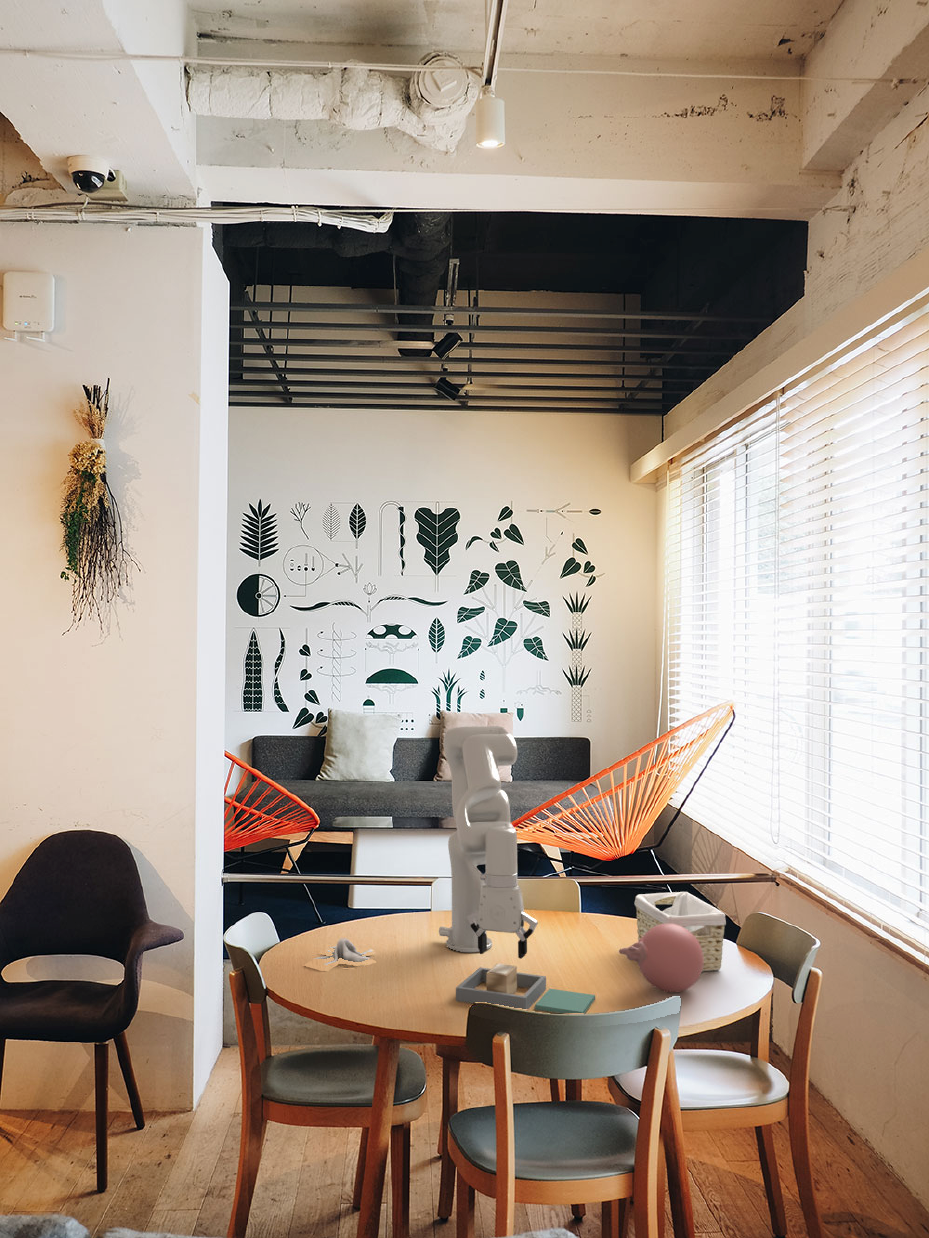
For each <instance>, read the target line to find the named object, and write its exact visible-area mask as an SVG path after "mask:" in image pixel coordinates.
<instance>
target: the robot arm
mask: <svg viewBox="0 0 929 1238" xmlns="http://www.w3.org/2000/svg"><path fill="white" fill-rule="evenodd" d="M442 743H443V751H444V752H443V753H444V755H445V759H446V761H447V765H448V766H449V770H450V773H451V774H450V775H451V802H452V804H451V805H452V806H451V807H452V815H453V818H454V821H455V823H456V824H455V827H456V831H454V832H452V833H451V835H450V836H449V837H448V843H447V845H448V854H449V861H450V873H451V926H450V927H446V926H439V928H438V934H439V936H441V937H447V940H446V941H445V944H446V945H447V946H448V947H449V948H450V949H449V948H448V947H447V946H446V945H445V946H446V947H447V948H448V949H449V950H451V949H453V950H452V951H454V950H456V951H455V952H458V951H460V953H478V952H479V954H480V955H483V954H484V953H486V952H487V951H488V950H490V949H491V948H492V946H493V941H492V940H491V938H489V937H488V936H487V931H489V932H498V933H506V934H507V933H508V934H516V935H517V937H518V938H519V940H518V941H517V957H518V959H519V960H521V959H523V958H524V957H525V956H526V955H527V953H528V939H529V937H531V935H532V934H534V933H535V930H536V928H537V926H538V923H539V922H538V921H537V920H536V919H535V918H533V917H531V916H530V915H529V914H527V913H526V912H525V909H524V900H523V894H522V890H521V885H518V834H517V830H516V828H515V827H514V825H513V824H512V822H511V821H512V820H511V807H510V800H509V797H508V794H507V793H506V792H505V790H503V789H502V781H501V776H500V770H499V767H503V766H512V765H514V764H515V763H516V762H517V759H518V746H517V742H516V739H515V738H514V736H513V735H512V733H510V731H508V730H507V729H506V728H505V727H502V726H494V725H492V726H488V725H487V726H458V727H453V728H450V729H447V730H446V732H445V733H444V735H443V742H442ZM479 865H485V872H484V873H482V872H481V871H480V870H479V868H478V867H477V866H479ZM525 923H527V925H528V924H529V927H528V929H527V930H526V929H525V928H524V926H525Z"/></svg>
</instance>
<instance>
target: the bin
mask: <svg viewBox="0 0 929 1238" xmlns="http://www.w3.org/2000/svg"><path fill="white" fill-rule="evenodd" d="M490 969H491V968H488V967H478V968H477V969H476V970H475V971H474V972H473V973H471V974H470V975H469V976H468V977H467V978H466V979H464V980H463V981H462V982H461V983H459V985H457V986H456V987H455V1001H456V1002H462V1003H466V1004H467V1003H468V1004H469V1003H470V1004H473V1003H475V1002H487V1003H491V1004H499V1005H504V1006H509V1007H514V1008H522V1009H528V1010H529V1009H530V1007H532V1006H533V1005H534V1003H535V1002H536V1001H537V1000H538V999H539V998H540V996H541V995H542V994H543V993H545V991H546V990H547V976H546V975H538V974H532V973H523V972H518V971H517V988H525V989H528V990H526V992H525V993H524V994H523V995H521V994H507V993H500V992H494V991H487V990H486V989H480V988H479V989H477V987H478V986H479V985H480V984H481V983H486V973H487V972H488V971H489V970H490Z"/></svg>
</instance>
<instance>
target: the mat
mask: <svg viewBox="0 0 929 1238" xmlns="http://www.w3.org/2000/svg"><path fill="white" fill-rule="evenodd" d="M595 1001H596V994H591V993H590V994H589V993H583V992H576V991H568V990H564V989H563V990H562V989H557V988H556V989H555V988H548V990H547V991H546V992H544V994H543V995H542V996H541V998H540V999H539V1000H538V1001H537V1002H536V1003H535V1004H534V1009H535V1011H542V1012H551V1013H556V1012H557V1014H562V1013H585V1014H586V1013H587V1011H588V1010H589V1008H590V1007H591V1006H592V1005H591V1004H593V1003H594V1002H595Z"/></svg>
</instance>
